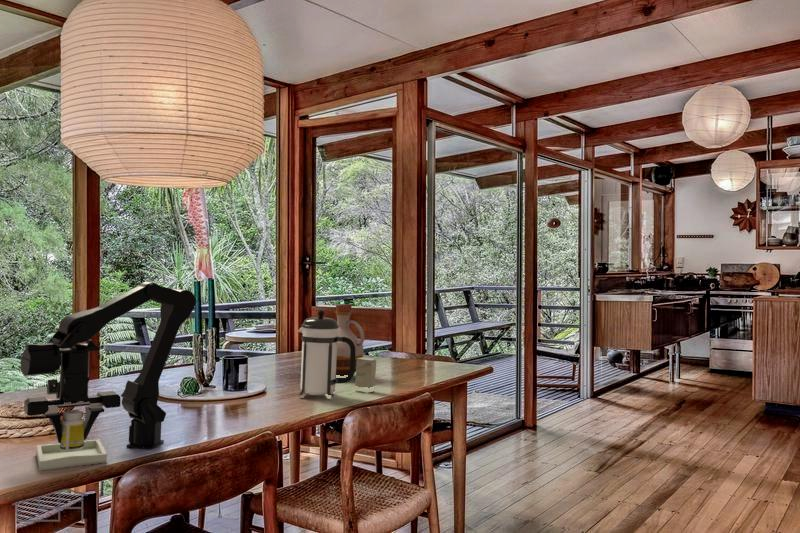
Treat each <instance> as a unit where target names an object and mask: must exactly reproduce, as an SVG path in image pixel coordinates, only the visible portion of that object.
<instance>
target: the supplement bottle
mask: <svg viewBox="0 0 800 533" xmlns="http://www.w3.org/2000/svg"><path fill="white" fill-rule="evenodd" d="M83 416H84V411H83V410H81V409H70V410H65V411H63V413H62V421H61V443H60V450H61V451H64V452H73V451H78V450H81V449H83V447H84V441H85V440H84V422H85V419H84V418H83Z"/></svg>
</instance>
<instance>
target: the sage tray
mask: <svg viewBox="0 0 800 533" xmlns="http://www.w3.org/2000/svg"><path fill="white" fill-rule="evenodd" d="M35 456H36V460H37V466H38V471H39V472H43V471H51V470H58V469H68V467H69V468H76V466H77V467H83V465H86V466H92V465H91V464H94V465H99V464H98V463H103V464H108V463H107V462H108V457H107V456H108V453H107V452H106V450H105V447H104V445H103V443H102V442H101V439H99V438H98V439H88V440H87V439H86V440H84V447H83V449H81V450H78V451H73V452H64V451H61V450H60V443H58V442H57V443H50V444H49V443H47V444H38V445H36V451H35ZM66 467H67V468H66Z"/></svg>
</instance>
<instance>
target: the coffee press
mask: <svg viewBox="0 0 800 533" xmlns="http://www.w3.org/2000/svg"><path fill="white" fill-rule="evenodd" d="M324 314H325V312H324V310H323V309H320V310H318V312H317V315H318V316H312V317H307V318H306V319H304V321H303V323H302V324H301V327H300V328H299V329H298V330H297V333H301V334H302V335H301V341H302V342H301V366H300V393H299V394H298V396H299V395H302V396H303V395H304V394H309V395H311V396H324V395H325V394H328V395H332V394H331V393H333V392H334V391H336V384H347V383H350V382H351V380H352V379H353V378H354V376H355V373H356V372H355V345H354V343H353V341H352V340H351V339H349V338H347V337H338V336H337V333H338V328H339V325H338V324H337V319H334V318H331V317H328V316H327V317H324ZM337 341H340V342H346V343H347V344H348V345H349V346H350V372H349V375H348V377H346V378H336V357H337ZM354 372H355V373H354ZM309 395H308V396H309Z"/></svg>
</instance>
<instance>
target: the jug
mask: <svg viewBox="0 0 800 533" xmlns="http://www.w3.org/2000/svg"><path fill="white" fill-rule="evenodd" d="M352 307H353V305H352V304H335V309H336V310H335V316H336V321H337V324H338V325H339V328H338V333H337V336H338V337H347V338H349V339H351V340H352V341H353V343H354V345H355V372H354V374H356V366H357V358H362V357H363V358H364V354H365V353H364V351H365V350H364V345H363V344H364V341H365V332H364V329H363V328H362V326H361V325H360V324H359V323H358V322H357V321H355V320H354V319H353V320H350V317H351V315H352V311H351V310H352ZM350 325H354V327H356V328H357V330H358V332H359V334H360V339H359V338H358V337H357V336H356V335H355V333H353V331H352V330H351V329H350ZM349 372H350V346H349V345H348V344H347V343H346V342H340V341H337V357H336V375H340V376H344V375H349Z"/></svg>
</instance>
